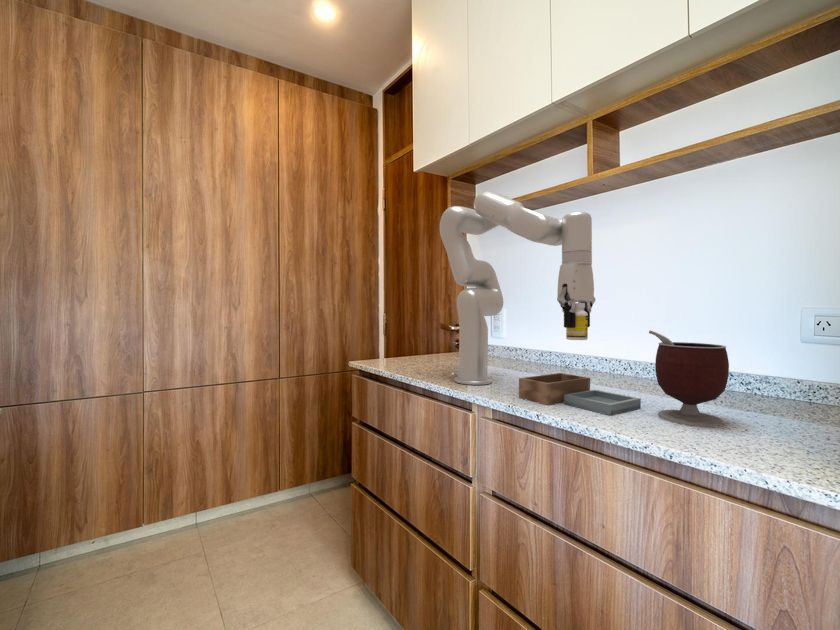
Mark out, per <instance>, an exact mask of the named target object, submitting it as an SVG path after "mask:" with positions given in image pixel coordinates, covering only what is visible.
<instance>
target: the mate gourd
mask: <svg viewBox="0 0 840 630" xmlns="http://www.w3.org/2000/svg"><path fill="white" fill-rule="evenodd" d="M648 334H650V335H653V336H655V337H656V338H657V339H659V340H660V341H661V342H658V347H657V349H656V354H655V364H654V365H655V368H654V370H655V374H656V375H655V377H656V381H657V384H658V386H659V387H660V389H662V391H663V392H664V394H665V395H667V396H669V397H671V398H673V399H675V400H677V401H679V402H680V403H682V405H681V407H680V409H663V410H659V411H658V415H657V416H658V418H660V419H662V420H664V421H667V422H669V423H673V424H674V423H675V424H678V425H683V424H684V426H689V425H690V427H697V426H699V427H698V428H715V427H714V426H718V427H721V426H720V425H722V424H723V425H724V421H723V419H722V418H720V417H718V416H715V415H713V414H708V413H705V412H700V410H699V407H698V405H699V404H703V403H707V402H710V401H715V400H717V399H718V398H719V397H720V396H721V395H722V394H723V393H725V391H726V388H727V385H728V380H729V377H730V376H729V374H730V373H729V372H730V363H729V354H728V351H727V345H722V344H715V343H713V344H712V343H704V342H703V343H702V342H701V343H700V342H685V341H684V342H681V341H677V342H676V341H675V342H674V341H672V340H671V339H669V338H668V337H666V336H665V335H663V334H661V333H658V332H657V331H653V330H651V329H650V330H648ZM723 425H722V426H723ZM702 426H703V427H702Z"/></svg>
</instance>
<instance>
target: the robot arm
mask: <svg viewBox="0 0 840 630" xmlns="http://www.w3.org/2000/svg"><path fill="white" fill-rule="evenodd" d="M473 208H474V209H473ZM473 208H469V207H465V206H459V205H454V206H450V207H448V208H446V209H445V211H443V213H442V214H441V215H442V216H441V218H440V220H439V234H440V239H441V241H442V244H443V246H444V249H445V250H446V251H445V252H446V254H447V258H448V263H449V266H450V269H451V272H452V276H453V279H454V281H455V283H456V284H457V285H459V286H462V287H466V288H464V289H463V290H461V291H460V292H459V294H458V296H457V298H456V308H457V309H456V310H457V313H458V323H459V325H458V326H459V340H458V341H459V346H458V347H459V348H458V349H459V351H458V352H459V353H458V354H459V355H458V357H459V358H458V359H459V360H458V366H457V368H454V369H453V371H454V372H453V373H455V374H457V375H456V376H455V377H454V382H455V383H456V384H457V383H458V384H462V385H471V386H474V385H475V386H482V385H489V384H492V382H493V379H492V378H491V376H488V371H489V370H488V368H489V367H488V366H489V364H488V362H489V361H488V359H489V327H488V324H487V323H488V322H487V320H486V318H485V317H492V316H497V315H498V314H501V312H502V310H503V308H504V297H503V294H502V290H501V286H500V284H499V283H500V282H499V280H498V277H497V273H496V271H495V269H494V267H493V266H492V264H491V263H489V262H488V261H485V260H479V259H477V258H475V256H474V253H473V250H472V246H471V244H470V242H469V241H468V239H467V238H466V237H465V236H464V234H466V235H467V234H468V235H474V236H480V235H484V234H485V233H487V232H489V231H491V230H493V229H495V228H496V227H499V226H501V227H503V228H504V229H507V231H510V232H511V233H513V234H515V235H517V236H520V237H522V238H524V239H526V240H528V241H530V242H533V243H538V244H543V245H548V246H551V247H552V246H555V247H557V246H561V264H560V266H559V270H558V271H559V272H558V278H557V279H558V280H557V295H556V296H557V298H556V301H557V302H558V303H559V305H560V308H561V312H562V313H563V327H564V328H565V329H566V328H575V326H576V316H575V313H573V312H574V308H575V303H585V309H584V311H585V312H587V314H588V328H590V326H591V312H592V308H593V305H594V303H595V302H596V297H595V284H594V282H595V281H594V272H593V266H592V265H593V249H592V248H593V247H592V245H593V240H592V239H593V236H592V235H593V231H592V230H593V229H592V227H593V223H592V221H593V220H592V219H593V217H592V215H591V214H590V213H589V212H585V211H575V212H570V213H567V214H566V213H565V215H564V216H563V217H562V218H557V217H553V216H550V215H546V214H542V213H539V212H537V211H535V210H531V209H528V208H526V207H524V204H523V203H522V202H520V201H519V200H518V201H517V200H514V199H512V198H510V197H508V196H507V195H503V194H501V193H497V192H494V191H491V190H487V191H482V192H480V193H478V195H477V196H475V198H474V199H473ZM463 233H464V234H463ZM467 287H468V288H467ZM569 304H570V305H569Z"/></svg>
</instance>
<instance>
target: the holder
mask: <svg viewBox="0 0 840 630" xmlns="http://www.w3.org/2000/svg"><path fill="white" fill-rule="evenodd" d="M588 390H591V377H587V376H580V375H575V374H569V373H563V372H557V373H556V372H555V373H551V374H541V375H533V376H527V377H519V378H518V398H519V399H521V398H522V400H525V399H527V400H526V401H529V400H530V402H533V401H534V403H537V402H538V404H541V403H542V405H545V406H551V404H552V405H556V404H561V403H564V395H566V394H571V393H577V392H583V391H588Z"/></svg>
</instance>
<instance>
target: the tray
mask: <svg viewBox="0 0 840 630" xmlns="http://www.w3.org/2000/svg"><path fill="white" fill-rule="evenodd" d="M641 403H642V398H639V397H636V396H635V397H634V396H630V395H625V394H624V395H623V394H618V393H615V392H609V391H603V390H599V389H590V390H588V391H583V392H577V393H571V394H566V395H564V402H563V405H565V406H570V407H574V408H578V409H582V410H586V411H590V412H595V413H599V414H602V415H603V414H604V415H606V416H611V417H612V416H615V415H618V414H624V413H627V412H632V411H636V410H640V409H641Z"/></svg>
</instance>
